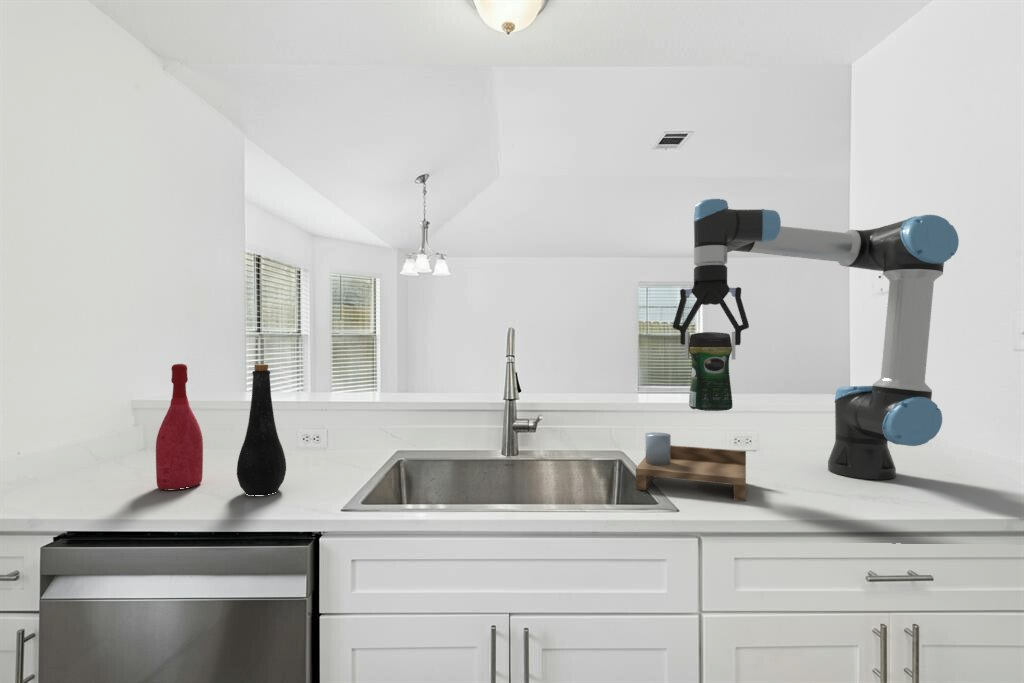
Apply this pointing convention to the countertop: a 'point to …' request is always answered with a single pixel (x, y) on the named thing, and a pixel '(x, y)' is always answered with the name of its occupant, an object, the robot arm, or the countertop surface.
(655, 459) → the grey blue cylinder
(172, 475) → the wine bottle
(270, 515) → the countertop surface
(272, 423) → the bottle
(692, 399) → the coffee jar
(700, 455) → the shelf
